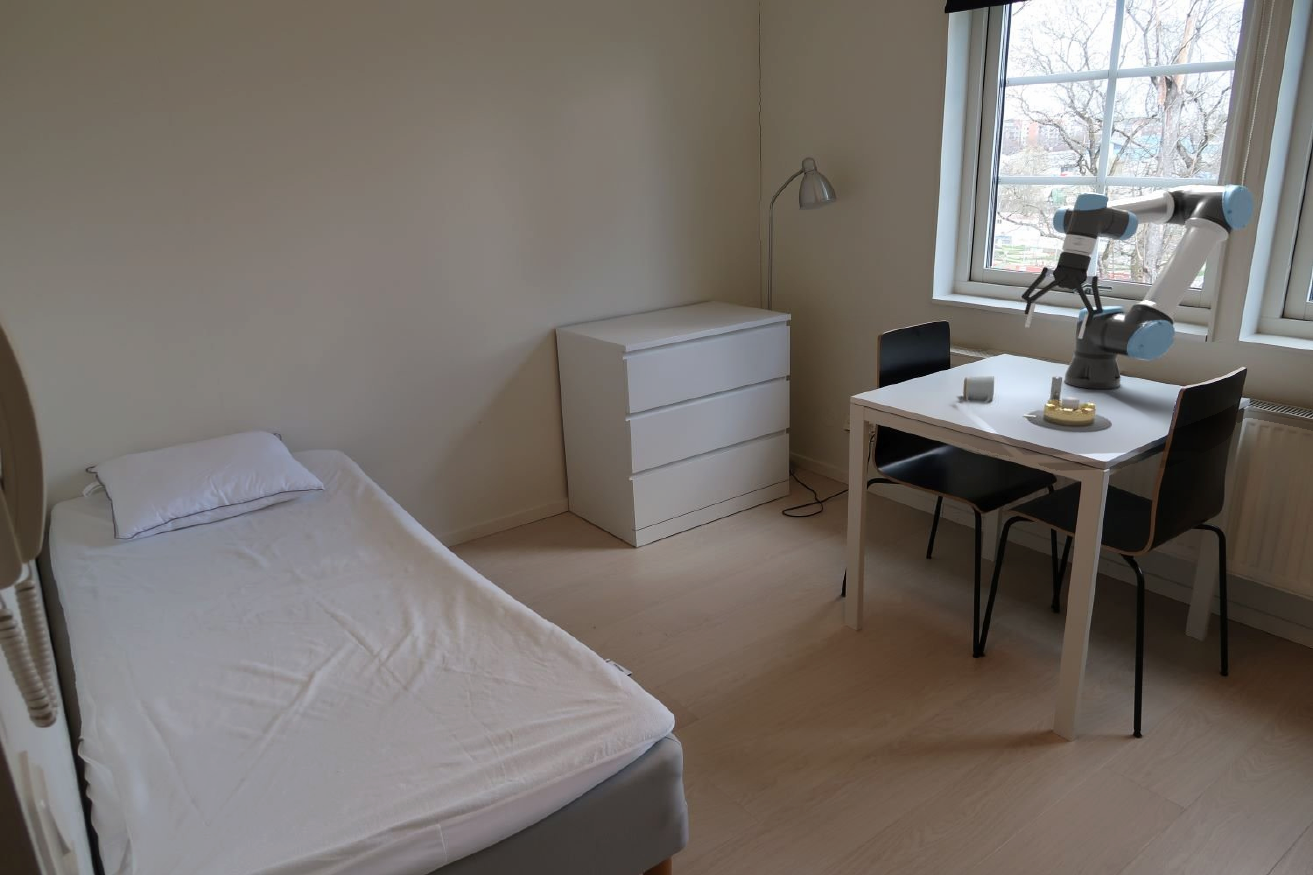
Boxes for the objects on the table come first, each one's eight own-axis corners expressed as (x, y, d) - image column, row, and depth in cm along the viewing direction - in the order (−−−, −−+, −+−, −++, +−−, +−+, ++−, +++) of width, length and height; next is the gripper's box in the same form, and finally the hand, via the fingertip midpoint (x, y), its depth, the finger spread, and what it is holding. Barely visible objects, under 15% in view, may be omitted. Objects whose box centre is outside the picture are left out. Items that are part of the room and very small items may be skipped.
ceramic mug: (963, 397, 254) (965, 371, 251) (993, 399, 251) (995, 373, 248) (961, 408, 244) (963, 381, 242) (992, 410, 241) (995, 383, 239)
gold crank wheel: (1103, 425, 219) (1107, 391, 216) (1054, 427, 219) (1058, 393, 217) (1074, 407, 235) (1078, 375, 232) (1029, 409, 235) (1032, 377, 232)
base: (1088, 413, 235) (1092, 388, 233) (1126, 436, 216) (1130, 409, 214) (1014, 415, 235) (1016, 390, 233) (1044, 438, 216) (1047, 411, 214)
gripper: (1025, 244, 233) (1002, 322, 238) (1127, 260, 221) (1101, 343, 226) (1029, 246, 239) (1007, 323, 244) (1129, 263, 227) (1104, 343, 232)
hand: (1052, 333), depth 235 cm, fingers open, 13 cm apart
